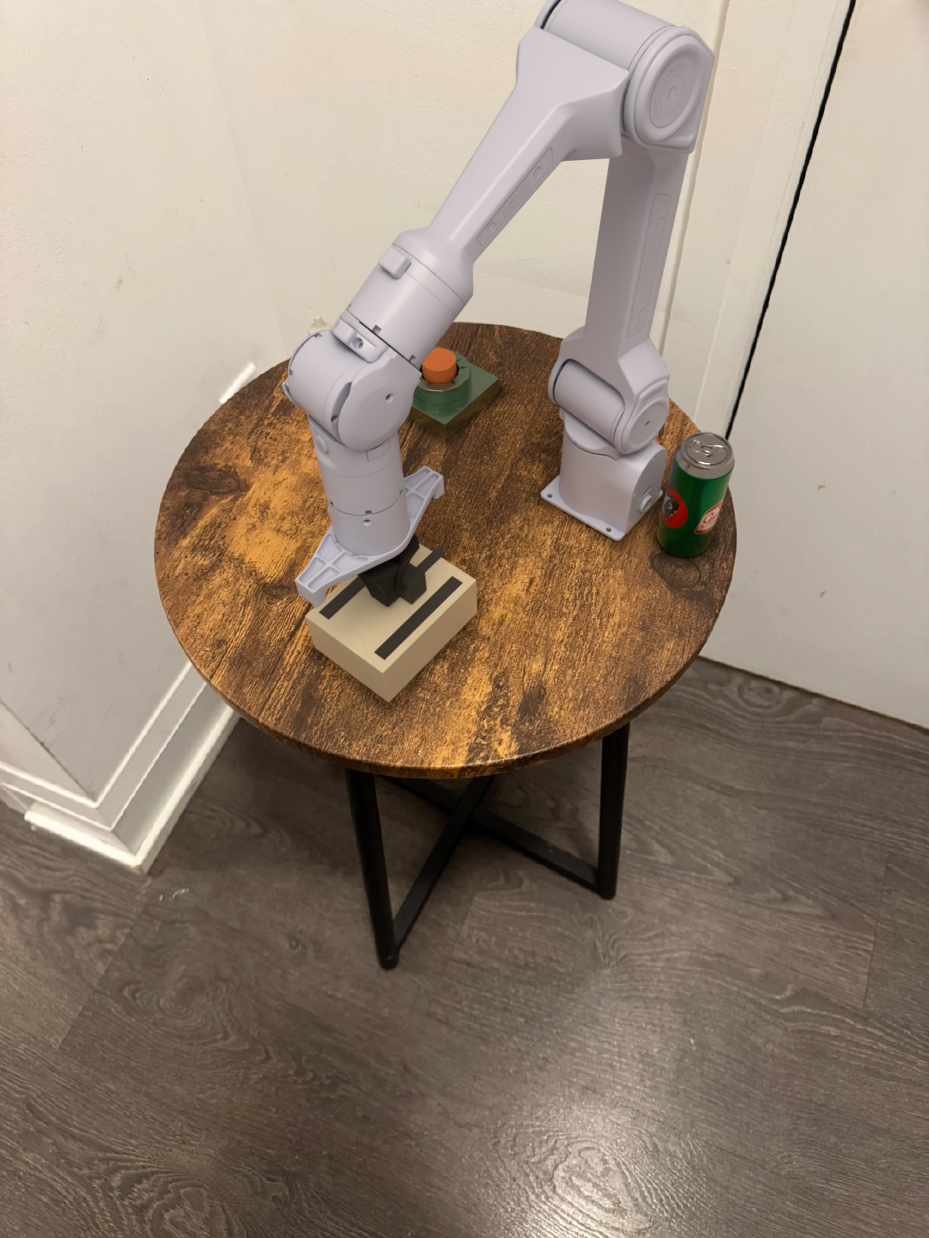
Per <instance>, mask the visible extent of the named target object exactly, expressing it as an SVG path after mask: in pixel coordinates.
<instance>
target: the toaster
mask: <svg viewBox="0 0 929 1238" xmlns="http://www.w3.org/2000/svg"><path fill="white" fill-rule="evenodd" d="M419 547H420V548H419V549H418V551H417V552H416V553H415V554H414V556H413V557H412V559H411V561H410V563H411V564H412V565H414V566H415V567H417V568H418V569H420V570H422V571H423V572H425V577H426V587H427V590H426V591H425V592H424V593H423V594H422V595H421V596H420V597H419V598H418V599H417V600H416V601H415V602H414V603H413V604H410V603H408V602H407V601H406V600H404V599H403V598H401V597H400V596H398V598H397V599H396V600H395V601H394V602H393V603H392V604H391V605H390V606H389V607H386V606H385V605H383V604H382V603H380V602H379V601H378V600H376V599H375V598H373V597H372V596H371V595H370V593H369V591H368V589H367V587H366V586H365V584H364V583H363V581H362V580H361V579H360V578H359V576H358V575H355V576H353V577H351V578H349V579H347V580H345V581H342V582H340V583H339V584H337V586H336V587H335V588H334V589H333V590H332V591H330V592H329V593H328V594H327V595H326V601H325V602H324V603H323V604H321V605H320V606H319V607H318V608H317V607H315V606H314V607H313V608H312V609H311V610H310V611H308V613H306V614H305V615H304V618H305V621H306V624H307V628H308V631H309V634H310V637H311V640H312V643H313V646H314V648H315V649H316V650H317V651H318V652H320V653H321V654H323V655H324V656H325V657H327V658H328V659H330V660H331V661H332V662H334V663H335V664H336V665H337V666H339V667H340V668H341V669H343V670H344V671H345V672H347V673H348V674H350V675H351V676H352V677H353V678H355V679H356V680H357V681H359V682H360V683H361V684H363V685H364V686H365V687H367V688H368V689H369V690H371V691H372V692H373V693H374V694H376V695H378V696H379V697H380V698H382V699H383V700H384V701H386V702H387V703H390V702H391V701H392V700H393V699H394V698H395V697H396V696H397V695H398V694H399V693H400V692H401V691H402V690H403V689H404V688H405V687H406V686H407V685H408V684H409V683H410V681H412V680H413V679H414V678H415V677H416V676H417V675H418V674H419V672H421V670H423V668H424V667H425V666H426V665H428V664H429V663H430V662H431V660H432V659H433V658H434V657H435V656H437V654H438V653H439V652H440V651H441V650H442V649H443V648H444V647H445V646H446V645H447V644H448V643H449V642H450V641H451V640H453V638H454V637H455V636H456V635H457V634H458V633H459V632H460V631H461V630H462V629H463V628H464V627H465V626H466V625H467V624H468V623H469V622H470V620H472V618H474V616H475V615H476V614H477V613H478V593H477V592H478V590H477V579H475V578H474V577H473V576H471V575H469V574H468V573H467V572H465V571H464V570H462V569H460V568H458V567H457V566H455V565H454V564H452V563H451V562H450V561H448V560H446V559H444V558H443V557H444V556H445V555H446V552H445V551H443V550H441V549H440V548H439V547H435V549H434V550H431V549H429V548H428V547H427V546H424V545H423V544H421V543H420V542H419Z"/></svg>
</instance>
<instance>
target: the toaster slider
mask: <svg viewBox="0 0 929 1238" xmlns="http://www.w3.org/2000/svg"><path fill="white" fill-rule="evenodd" d="M426 590H427V587H426V577H425V572H423V571H422V570H420V569H418V568H417V567H415V566H414V565H412V564H411V563H409V564H408V566H407V569H406V571H405V574H404V577H403V581H402V584H401V588H400V592H399V596H400V597H401V598H403V599H404V600H406V601H407V602H408V603H410V604H413V603H414V602H415V601H416V600H417V599H418V598H419V597H420V596H421V595H422V594H423V593H424V592H425V591H426Z"/></svg>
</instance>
